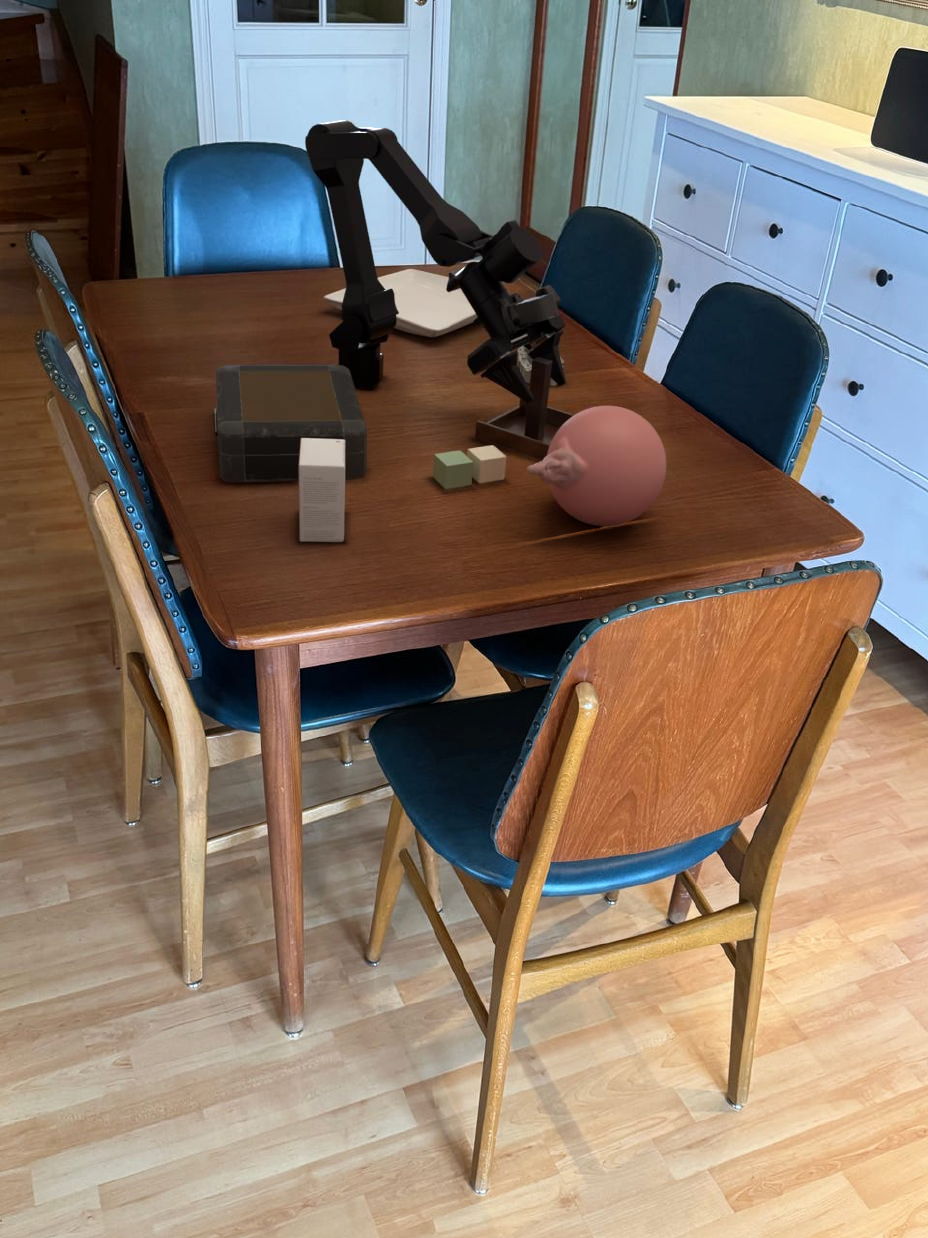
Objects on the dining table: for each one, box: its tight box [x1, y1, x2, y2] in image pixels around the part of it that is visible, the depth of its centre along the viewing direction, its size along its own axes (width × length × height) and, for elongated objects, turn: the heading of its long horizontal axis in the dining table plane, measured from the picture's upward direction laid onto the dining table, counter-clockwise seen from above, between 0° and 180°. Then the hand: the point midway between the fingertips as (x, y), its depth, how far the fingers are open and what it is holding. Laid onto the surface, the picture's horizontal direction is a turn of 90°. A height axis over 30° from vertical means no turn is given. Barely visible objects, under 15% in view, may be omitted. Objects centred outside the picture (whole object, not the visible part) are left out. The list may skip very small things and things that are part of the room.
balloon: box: [526, 405, 667, 527], centre depth 142 cm, size 15×20×15 cm
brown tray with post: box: [474, 357, 575, 461], centre depth 164 cm, size 13×13×12 cm
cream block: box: [466, 444, 507, 484], centre depth 154 cm, size 4×4×4 cm
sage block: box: [432, 450, 473, 490], centre depth 151 cm, size 4×4×4 cm
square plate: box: [323, 268, 478, 338], centre depth 213 cm, size 27×27×4 cm
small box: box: [298, 438, 346, 543], centre depth 137 cm, size 8×6×10 cm
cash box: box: [212, 364, 368, 484], centre depth 157 cm, size 25×20×8 cm
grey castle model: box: [517, 346, 565, 387], centre depth 189 cm, size 11×8×4 cm
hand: (547, 392), depth 162 cm, fingers open, 9 cm apart
